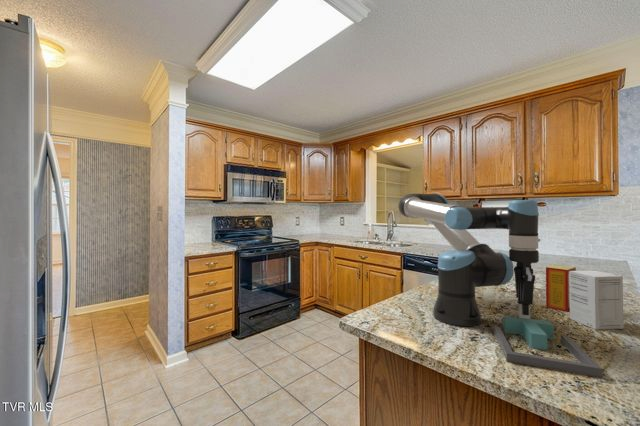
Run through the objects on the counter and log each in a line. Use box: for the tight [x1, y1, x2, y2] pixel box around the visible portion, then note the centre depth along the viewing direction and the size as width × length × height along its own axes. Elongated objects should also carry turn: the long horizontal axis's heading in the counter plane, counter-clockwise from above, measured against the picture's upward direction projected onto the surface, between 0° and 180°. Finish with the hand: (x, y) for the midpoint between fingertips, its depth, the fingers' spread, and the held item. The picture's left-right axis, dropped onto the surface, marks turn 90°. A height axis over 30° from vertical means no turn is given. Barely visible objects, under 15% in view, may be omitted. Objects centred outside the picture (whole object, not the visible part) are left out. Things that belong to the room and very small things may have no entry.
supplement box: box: [569, 270, 625, 331], centre depth 92 cm, size 10×9×17 cm
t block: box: [502, 315, 555, 351], centre depth 81 cm, size 12×12×4 cm
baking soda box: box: [545, 264, 577, 313], centre depth 109 cm, size 10×6×16 cm
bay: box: [493, 325, 603, 379], centre depth 74 cm, size 18×18×2 cm
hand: (524, 323), depth 88 cm, fingers closed
